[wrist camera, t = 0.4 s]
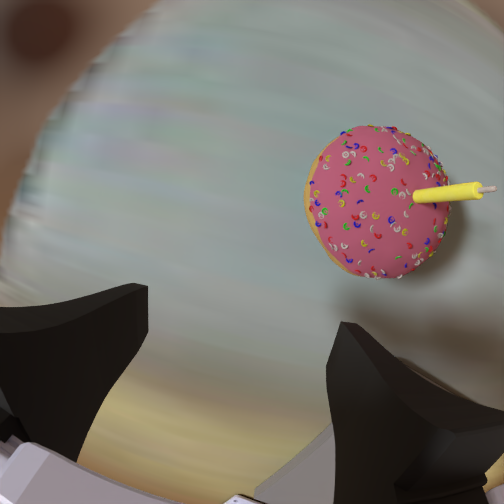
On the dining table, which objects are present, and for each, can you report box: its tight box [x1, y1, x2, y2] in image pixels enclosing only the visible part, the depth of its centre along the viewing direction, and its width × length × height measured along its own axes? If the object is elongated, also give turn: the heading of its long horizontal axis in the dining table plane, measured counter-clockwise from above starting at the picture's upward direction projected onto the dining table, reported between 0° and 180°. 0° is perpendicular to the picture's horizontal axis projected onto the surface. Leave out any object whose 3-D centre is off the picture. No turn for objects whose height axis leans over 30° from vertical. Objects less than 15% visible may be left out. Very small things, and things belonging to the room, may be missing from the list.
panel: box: [254, 366, 455, 504], centre depth 21 cm, size 20×24×4 cm
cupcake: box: [304, 124, 497, 280], centre depth 14 cm, size 9×8×12 cm
